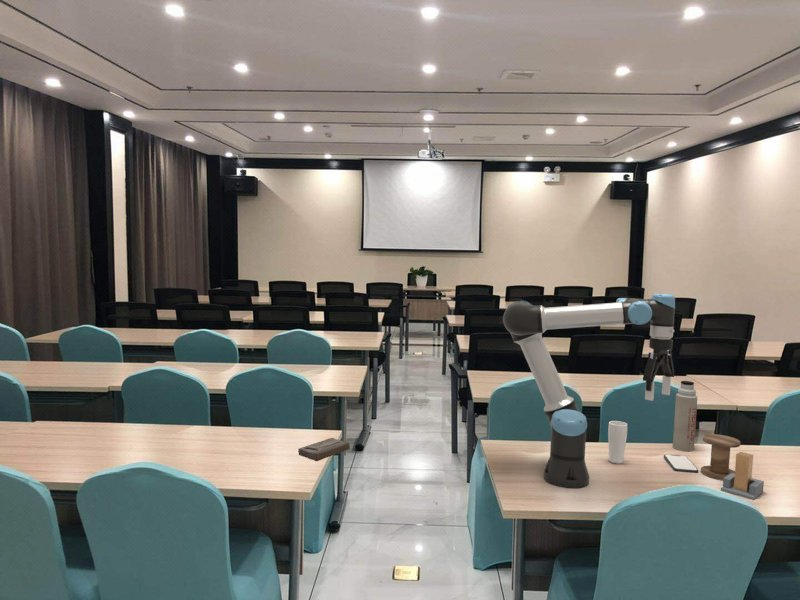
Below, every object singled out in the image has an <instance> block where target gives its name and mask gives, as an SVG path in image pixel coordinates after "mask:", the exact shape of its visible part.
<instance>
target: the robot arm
mask: <svg viewBox="0 0 800 600" xmlns="http://www.w3.org/2000/svg"><path fill="white" fill-rule="evenodd" d="M675 310H676V297H675V296H674V295H673V294H670V293H653V294H652V295H651V298H647V299H645V298H634V297H633V298H632V297H619V298H617V299H616V301H615V302H607V303H593V304H592V303H591V304H579V305H567V306H566V305H565V306H563V305H562V306H553V307H545V306H543V305H542V304H541V305H539V304H538V305H533V304H532V303H530V302H528V301H526V300H517V301H514V302H512V303H510V304H509V305H508V306H507V307H506V309H505V311H504V313H503V317H502V322H503V326H504V327H505V329H506V330H507V331H508V332H509V333H510V335H511V338H512V340H513V343H515V344H518V345H519V346H520V348H521V350H522V353H523V356H524V358H525V360H526V362H527V365H528V367H529V369H530V371H531V374H532V376H533V378H534V381H535V383H536V385H537V387H538V390H539V392H540V394H541V396H542V397H541V398H543V401H544V403H545V405H544V408H543V412H544V414H545V416H546V418H547V421H548V423H549V426H550V448H549V449H550V450H549V458H548V461H547V463H546V465H545V468H544V471H543V479H544V480H545V481H546V482H548V483H549V484H551V485H555V486H558V487H561V488H571V489H573V488H574V489H576V488H577V489H578V488H584V487H586V486H588V485H589V483H590V475H589V471H588V467H587V463H586V459H585V457H586V442H587V441H586V440H587V428H588V422H587V417H586V415H585V414H583V412H581V411H580V410H579V408H578V406H577V403H576V401H575V399H574V397H572V396H569V395H568V393H567V391H566V388H565V386H564V384H563V382H562V379H561V377H560V375H559V373H558V370H557V367H556V365H555V363H554V361H553V359H552V357H551V356H552V355H550V352H549V349H548V347H547V345H546V343H545V341H544V338H543V334H544V333H545V332H546V331H547V330H548V331H549V330H559V329H575V328H586V327H588V328H589V327H601V326H602V327H603V326H605V327H606V326H618V325H638V326H639V325H645V324H647V323H648V322H650V325H649V327H650V329H649V336H650V338H649V342H648V345H649V346H648V347H649V348H650V349H652V352H648V356H647V361H646V364H645V367H644V372H643V376H642V381H643V382H645V386H644V387H645V392H644V400H646V401H651V402H653V401H654V400H655V399H654V398H655V381H654V379H655V377H656V375H657V372H658V370H659V368H661V370H662V373H663V376H662V383H661V395H664V396H670V395H671V386H672V385H671V383H672V378H674V377H675V369H674V361H673V351H672V350H673V347H674V346H673V343H674V340H673V339H672V338H673V337H674V333H675V329H674V328H675V327H674V325H675V324H674V323H675Z"/></svg>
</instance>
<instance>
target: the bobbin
mask: <svg viewBox="0 0 800 600" xmlns="http://www.w3.org/2000/svg"><path fill="white" fill-rule="evenodd" d="M702 441H703V442H704V443H705V444H708V445H711V450H710V462H709V463H710V465H703V466H701V467H700V473H701V474H702V475H703V476H705V477H707V478H710V479H712V480H713V479H714V480H717V481H718V480H719V481H723V479H724V478H725V477H726V476H728V475H729V474H731V473H734V474H735V470H734V469H733V470H732V469H730V458H731V448H732V449H733V448H740V446H741V441H740V439H738V438H737V437H733V436H730V435H729V436H728V435H724V434H716V433H712V434H711V433H709V434H703V435H702Z"/></svg>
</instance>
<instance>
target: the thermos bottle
mask: <svg viewBox="0 0 800 600" xmlns="http://www.w3.org/2000/svg"><path fill="white" fill-rule="evenodd" d="M694 384H695V382H693V381H689V380H682V381H681V380H680V387H679V388H678V390H677V393H676V394H675V408H674V419H673V421H674V422H673V434H672V435H673V437H672V438H673V439H672V448H673V450H674V449H675V450H677V451H681V452H688V453H689V452H693V451H695V440H696V439H695V438H696V426H697V425H696V424H697V422H696V421H697V409H698V396H697V391H696V389H695V386H694Z"/></svg>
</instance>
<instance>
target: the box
mask: <svg viewBox="0 0 800 600" xmlns="http://www.w3.org/2000/svg"><path fill="white" fill-rule="evenodd" d="M350 446H351V445H350V442H347V441H344V440H340V439H336V438H333V437H330V438H326V439H325V440H321V441H318V442H315V443H312V444H308V445H305V446H302V447H300V448H297V450H298V451H297V452H298V456H301V457H304V458H307V459H309V460H311V461H315V462H319V461H322V460H325V459H327V458H330V457H332V456H335V455H337V454H340V453H343V452H345V451H348V450H351V448H350Z"/></svg>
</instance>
